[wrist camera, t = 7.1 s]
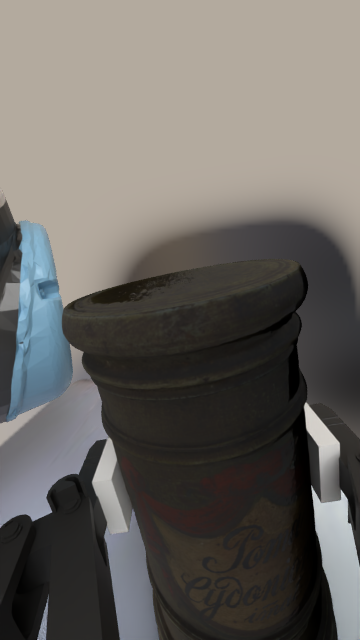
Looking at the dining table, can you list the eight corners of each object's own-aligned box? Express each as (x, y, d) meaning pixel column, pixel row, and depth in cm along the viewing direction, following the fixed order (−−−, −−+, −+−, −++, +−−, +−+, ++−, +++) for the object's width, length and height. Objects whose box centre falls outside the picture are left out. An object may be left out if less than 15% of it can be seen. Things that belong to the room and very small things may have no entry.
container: (140, 571, 16) (46, 299, 12) (250, 495, 20) (212, 259, 15) (220, 852, 9) (29, 357, 4) (381, 645, 12) (391, 245, 7)
